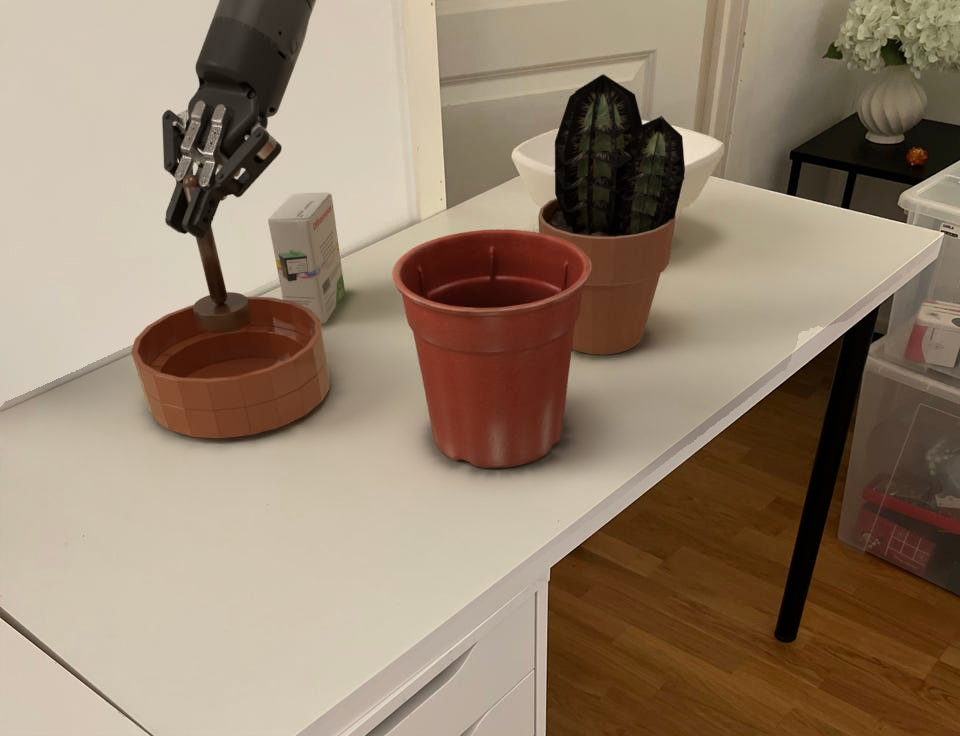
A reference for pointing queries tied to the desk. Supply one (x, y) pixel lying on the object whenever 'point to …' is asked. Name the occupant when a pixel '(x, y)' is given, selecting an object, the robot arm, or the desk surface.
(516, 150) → the bowl
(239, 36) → the robot arm
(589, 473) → the desk surface
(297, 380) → the shallow terracotta planter
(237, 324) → the brown peg stand
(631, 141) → the potted plant
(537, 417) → the flower pot
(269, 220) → the ink box
